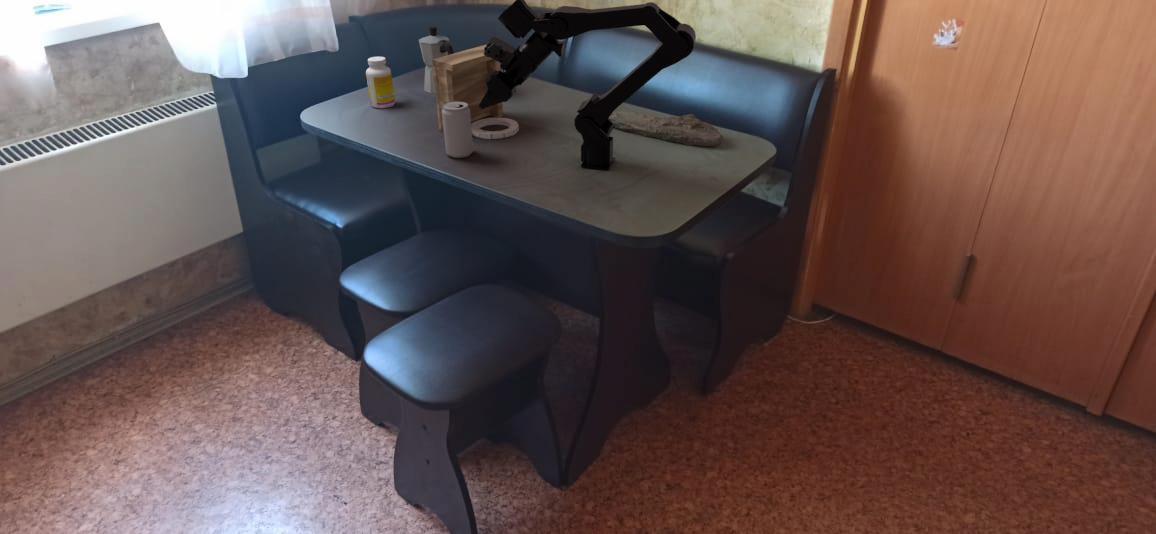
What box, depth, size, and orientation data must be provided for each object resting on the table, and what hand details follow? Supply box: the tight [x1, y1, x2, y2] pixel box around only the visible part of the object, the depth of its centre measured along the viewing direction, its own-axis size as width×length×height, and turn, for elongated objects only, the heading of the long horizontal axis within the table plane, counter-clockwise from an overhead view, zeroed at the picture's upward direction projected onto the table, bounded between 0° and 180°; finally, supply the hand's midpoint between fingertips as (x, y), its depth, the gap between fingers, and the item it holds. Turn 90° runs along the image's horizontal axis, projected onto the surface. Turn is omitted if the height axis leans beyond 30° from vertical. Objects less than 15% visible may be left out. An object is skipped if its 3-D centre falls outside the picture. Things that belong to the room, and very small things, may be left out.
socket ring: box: [471, 116, 520, 140], centre depth 197 cm, size 12×12×1 cm
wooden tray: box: [432, 44, 504, 133], centre depth 197 cm, size 7×18×18 cm, turn 140°
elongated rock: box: [608, 108, 724, 147], centre depth 195 cm, size 35×5×10 cm
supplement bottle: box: [365, 56, 396, 109], centre depth 212 cm, size 7×7×13 cm
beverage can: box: [442, 102, 474, 159], centre depth 181 cm, size 6×6×12 cm
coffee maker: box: [418, 25, 455, 95], centre depth 221 cm, size 15×9×18 cm, turn 43°
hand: (486, 100), depth 176 cm, fingers open, 9 cm apart
